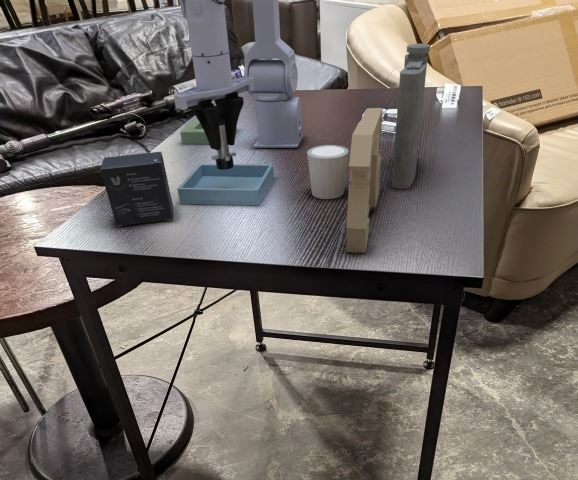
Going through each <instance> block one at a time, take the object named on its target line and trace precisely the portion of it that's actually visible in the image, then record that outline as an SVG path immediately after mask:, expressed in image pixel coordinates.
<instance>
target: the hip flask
mask: <svg viewBox="0 0 578 480" xmlns="http://www.w3.org/2000/svg"><path fill="white" fill-rule="evenodd" d="M429 52H431V45H430V44H428V43H412V44H408V45H407V46H406V53H407V54H405V55H404V65H403V66H404V67H403V69H401V71H399V72H400V73H399V82H398V95H397V96H398V97H397V109H396V122H395V135H394V148H393V162H392V174H391V176H392V177H391V187H392V188H393V189H396V190H406V189H409V188H410V187H411V186H412V184H413V183H414V181H415V179H416V178H415V177H416V173H417V163H418V154H419V143H420V135H421V126H422V125H421V124H422V118H423V117H422V116H423V106H424V97H425V88H426V80H427V79H426V78H427V68H428V60H429V59H428V58H429V54H428V53H429Z"/></svg>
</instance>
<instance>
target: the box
mask: <svg viewBox="0 0 578 480" xmlns="http://www.w3.org/2000/svg"><path fill="white" fill-rule="evenodd" d="M166 171H167V170H166V166H165V161H164V157H163V152H162V151H154V152H153V151H152V152H144V153H136V154H135V153H134V154H125V155H117V156H108V157H107V156H106V157H104V158H103V160H102V163H101V165H100V168H99V172H100V175H101V177H102V182H103V185H104V188H105V191H106V194H107V197H108V201H109V205H110V209H111V212H112V215H113V219H114V223H115V225H116V227H117V228H120V227H123V226H128V225H129V226H130V225H137V224H145V223H155V222H162V221H168V222H169V221H173V220H174V205H173V200H172V195H171V189H170V185H169V180H168V174H167V172H166Z"/></svg>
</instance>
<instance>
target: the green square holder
mask: <svg viewBox="0 0 578 480" xmlns="http://www.w3.org/2000/svg"><path fill="white" fill-rule="evenodd" d="M237 131H238V127H236V132H237ZM180 138H181V144H182V145H209V142H208V139H207V137H206V134H205V132H204V130H203V128H202V126H201V124H200V122H199V120H198V119H197V118H194V119H193V120H192V121H191V122H189V124H188V125H187V126H185V127H184V128H183V129H181V131H180Z"/></svg>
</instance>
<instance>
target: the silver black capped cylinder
mask: <svg viewBox="0 0 578 480" xmlns="http://www.w3.org/2000/svg"><path fill="white" fill-rule="evenodd" d="M226 124H227V117H226V116H225V115H220V116H219V132H220V140H221V149H220V150H216V153H217V154H213V155H211V157H210V158H211V160H212V161H215V164H216V167H217V169H220V170H227V169H231V168H233V167H234V164H235V163H234V157H236V156H237V153H236V152H235V151H230V147H229V145H228V139H227V131H226Z"/></svg>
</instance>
